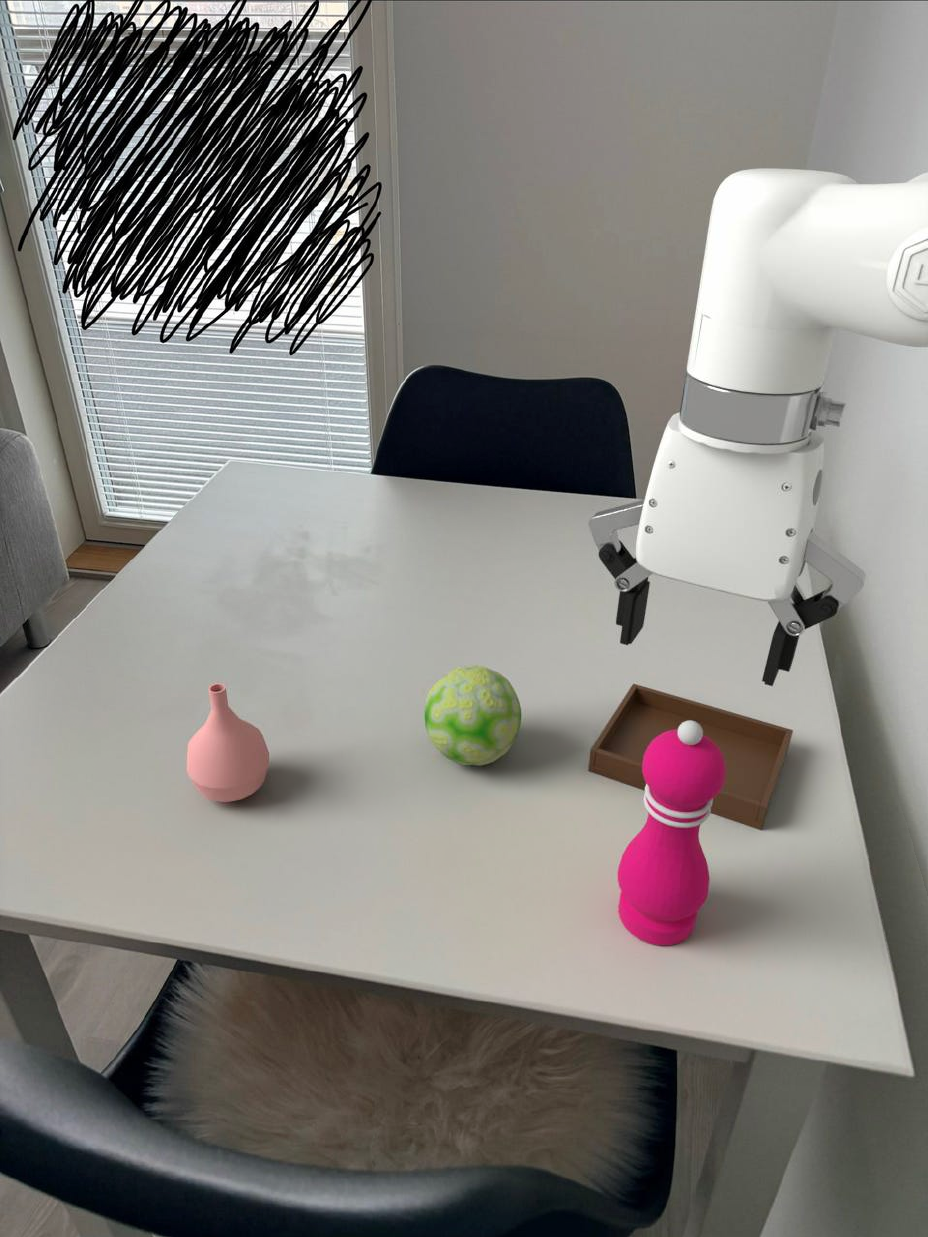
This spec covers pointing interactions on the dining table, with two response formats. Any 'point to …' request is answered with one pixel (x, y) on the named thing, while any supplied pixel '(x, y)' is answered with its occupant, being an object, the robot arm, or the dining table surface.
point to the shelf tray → (741, 739)
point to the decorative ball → (472, 715)
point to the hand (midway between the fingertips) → (699, 654)
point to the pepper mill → (671, 837)
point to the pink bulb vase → (226, 753)
